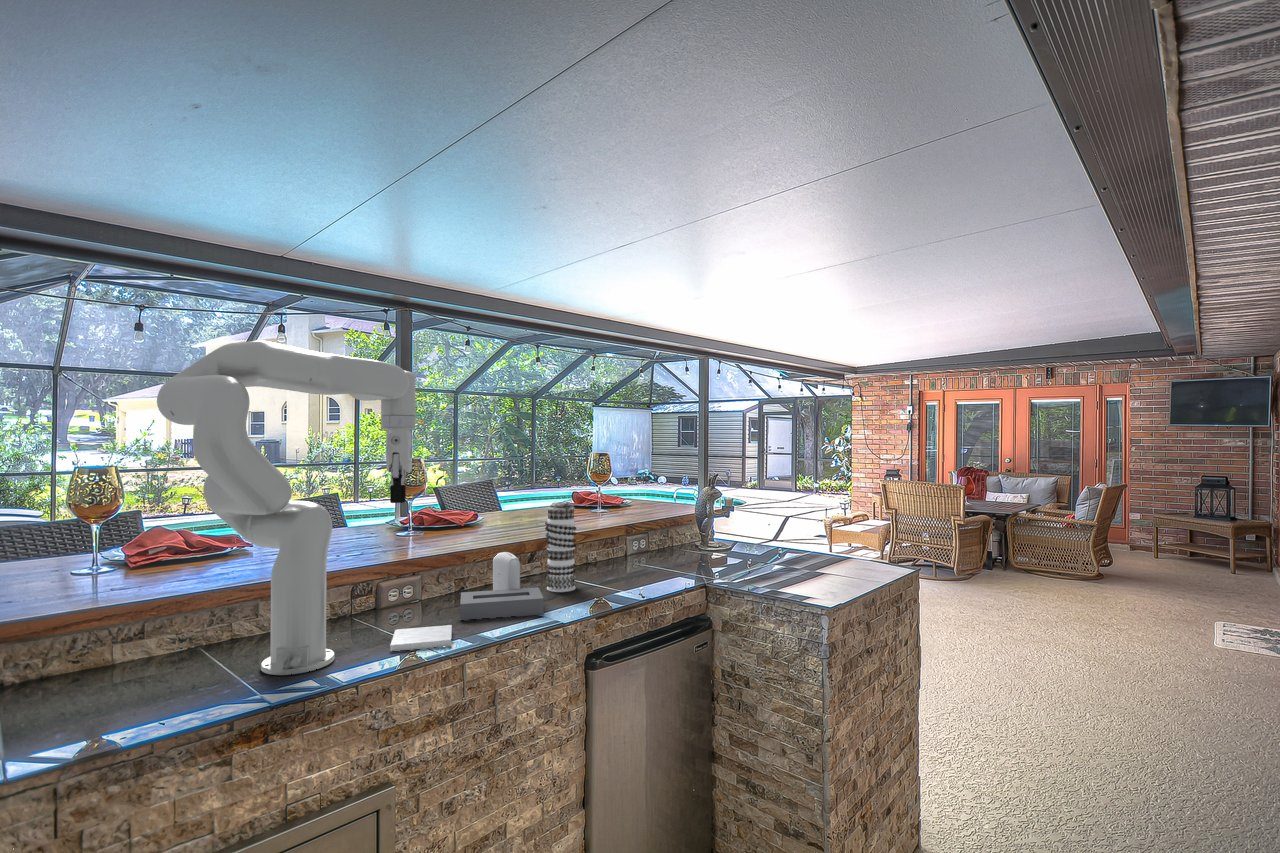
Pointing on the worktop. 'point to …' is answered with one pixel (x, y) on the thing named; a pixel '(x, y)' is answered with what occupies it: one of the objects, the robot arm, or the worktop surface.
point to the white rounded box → (506, 571)
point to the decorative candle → (560, 547)
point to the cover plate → (421, 638)
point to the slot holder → (501, 603)
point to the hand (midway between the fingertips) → (397, 502)
